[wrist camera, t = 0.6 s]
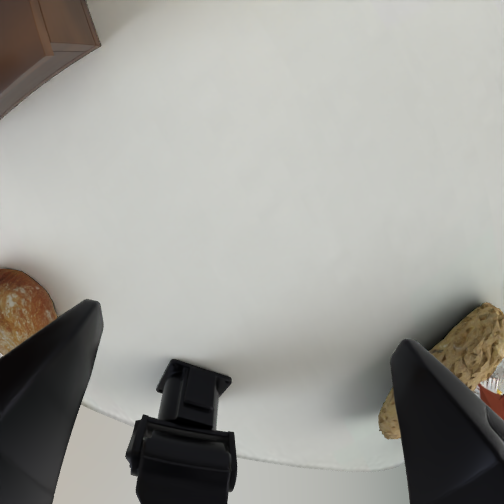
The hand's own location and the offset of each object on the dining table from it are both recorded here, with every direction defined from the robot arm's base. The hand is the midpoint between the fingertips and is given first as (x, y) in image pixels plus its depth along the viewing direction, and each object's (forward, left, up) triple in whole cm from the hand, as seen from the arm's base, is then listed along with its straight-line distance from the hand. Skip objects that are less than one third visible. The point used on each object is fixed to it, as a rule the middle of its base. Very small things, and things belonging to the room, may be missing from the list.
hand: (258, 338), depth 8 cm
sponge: (-9, -28, -13) cm, 32 cm away
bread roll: (-21, +16, -13) cm, 30 cm away
